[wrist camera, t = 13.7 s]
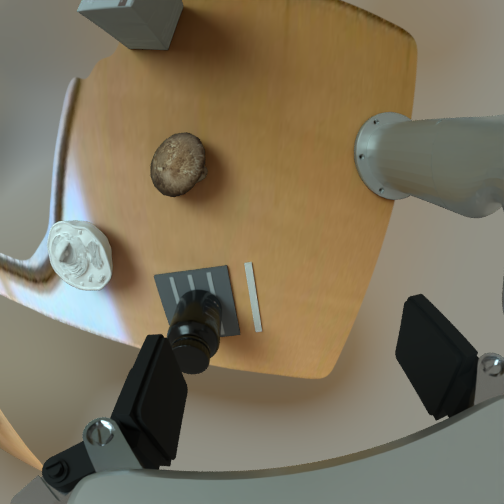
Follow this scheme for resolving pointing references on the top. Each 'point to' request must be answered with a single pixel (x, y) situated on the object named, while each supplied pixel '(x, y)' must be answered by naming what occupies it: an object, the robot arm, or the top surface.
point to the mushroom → (178, 164)
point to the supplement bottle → (195, 330)
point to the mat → (204, 279)
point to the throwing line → (253, 296)
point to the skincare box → (135, 20)
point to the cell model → (80, 254)
